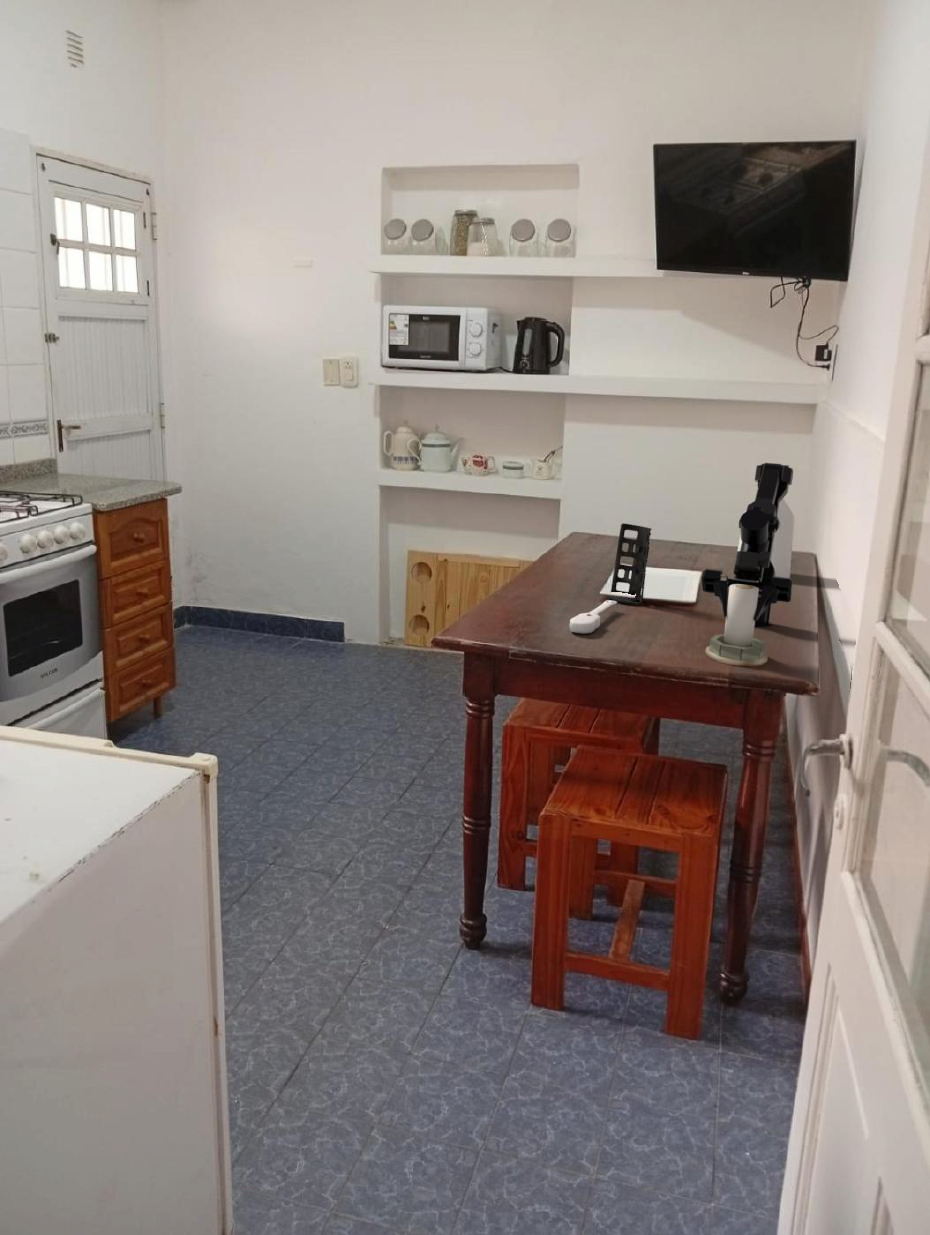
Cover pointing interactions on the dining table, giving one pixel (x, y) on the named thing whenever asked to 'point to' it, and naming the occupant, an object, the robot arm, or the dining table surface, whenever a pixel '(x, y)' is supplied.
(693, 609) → the dining table surface
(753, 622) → the paper roll
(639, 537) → the holder
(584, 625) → the white long handled piece
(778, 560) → the milk
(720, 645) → the stand
